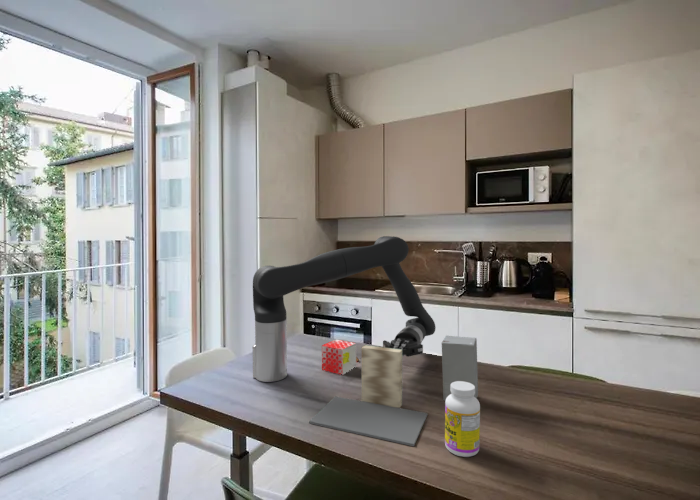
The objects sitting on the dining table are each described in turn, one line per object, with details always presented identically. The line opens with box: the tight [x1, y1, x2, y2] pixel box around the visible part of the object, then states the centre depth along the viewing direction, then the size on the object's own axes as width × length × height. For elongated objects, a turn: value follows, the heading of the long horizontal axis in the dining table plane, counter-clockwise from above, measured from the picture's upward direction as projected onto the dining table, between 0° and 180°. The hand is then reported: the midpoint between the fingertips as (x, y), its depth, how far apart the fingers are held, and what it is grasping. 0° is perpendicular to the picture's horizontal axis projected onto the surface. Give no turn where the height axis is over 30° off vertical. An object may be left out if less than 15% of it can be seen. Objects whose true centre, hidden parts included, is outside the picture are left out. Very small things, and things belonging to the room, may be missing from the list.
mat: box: [308, 395, 429, 447], centre depth 86 cm, size 24×14×1 cm, turn 67°
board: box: [361, 344, 403, 408], centre depth 94 cm, size 10×2×14 cm, turn 67°
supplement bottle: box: [444, 381, 481, 458], centre depth 74 cm, size 7×7×13 cm
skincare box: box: [441, 335, 479, 401], centre depth 97 cm, size 8×7×16 cm
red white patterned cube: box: [321, 339, 357, 376], centre depth 119 cm, size 8×8×8 cm
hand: (394, 356), depth 105 cm, fingers closed
